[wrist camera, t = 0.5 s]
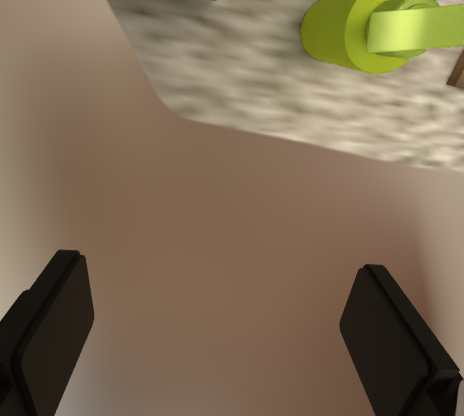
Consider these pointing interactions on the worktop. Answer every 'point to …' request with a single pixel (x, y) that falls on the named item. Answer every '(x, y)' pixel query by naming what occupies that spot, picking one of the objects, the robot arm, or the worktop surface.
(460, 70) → the ticket board
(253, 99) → the worktop surface
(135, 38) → the worktop surface
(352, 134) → the worktop surface
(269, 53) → the worktop surface
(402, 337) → the robot arm
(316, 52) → the soap dispenser
